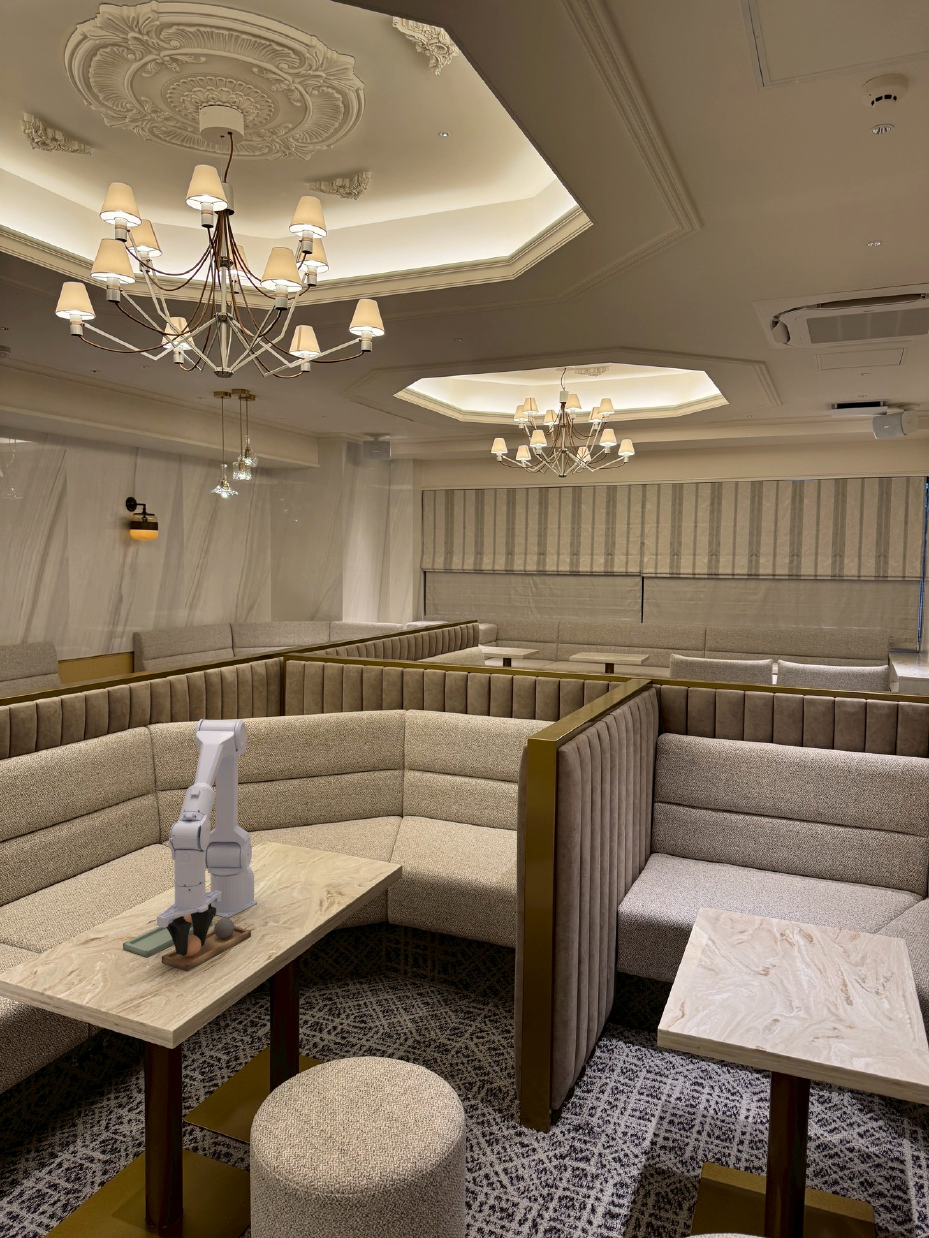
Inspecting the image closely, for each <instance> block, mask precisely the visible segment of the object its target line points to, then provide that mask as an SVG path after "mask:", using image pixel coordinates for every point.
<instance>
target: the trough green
mask: <svg viewBox="0 0 929 1238" xmlns="http://www.w3.org/2000/svg"><path fill="white" fill-rule="evenodd" d="M210 926H213V920H212V921H211V924H210ZM210 926H209V927H210ZM189 935H193V924H192V925H191V927H190V930H189ZM173 945H174V942H173V940H172V937H171V935H170V933H169V931H168V929H167V928H166V927H165V928H163V927H159V926H156V927H154V928H153V929H151V930H149V931H147V932H144V933H142V934H139V935H138V936H136V937H133V938H131V939H130V940H129V939H128V940H127V941H125V942H123V943H122V950H124V951H127V952H130V953H134V954H136V955H139V956H141V957H145V958H150V957H151V956H154V955H155V954H157V953H159V952H161V951H163V950H165V949H167V948H169V947H171V946H173Z"/></svg>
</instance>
